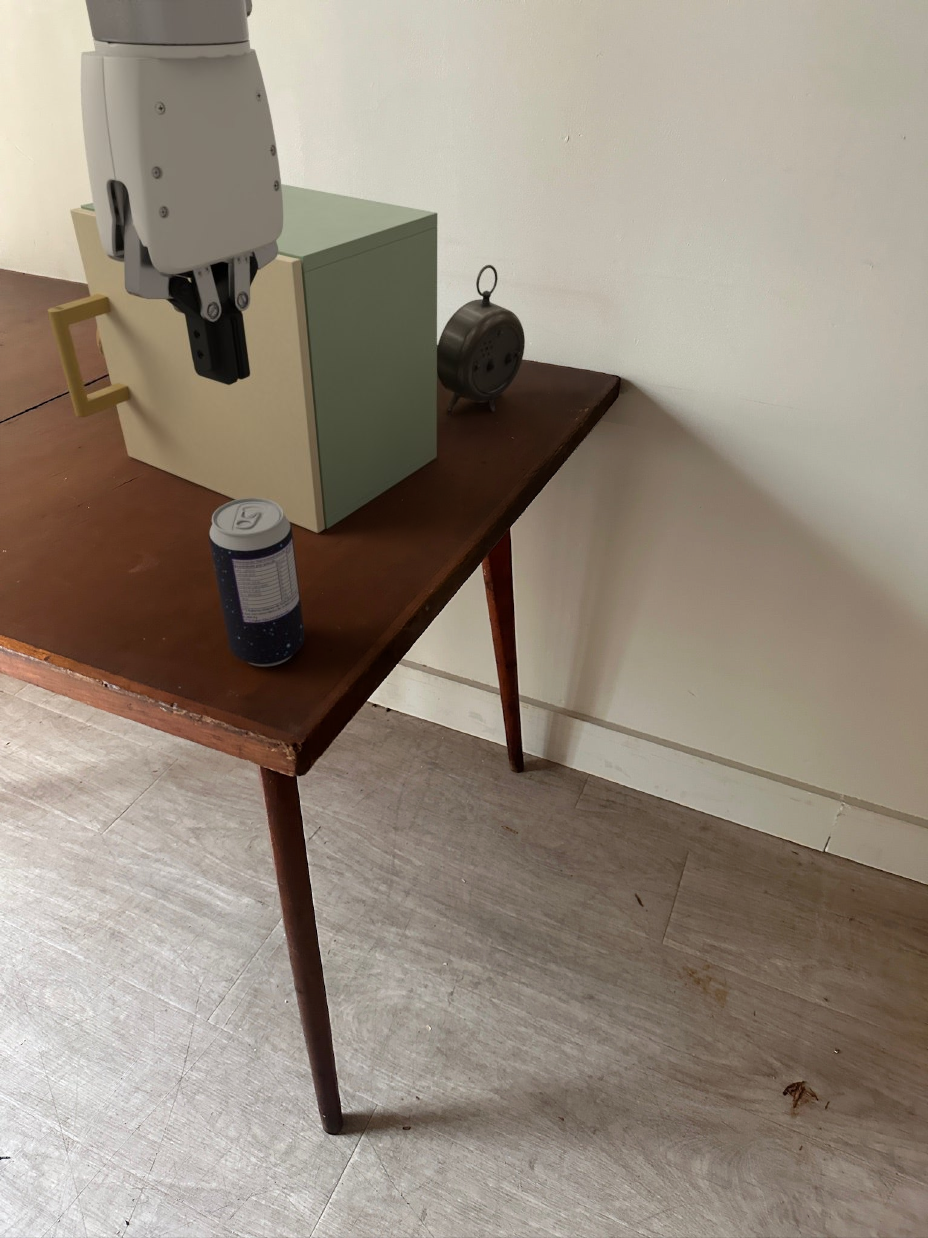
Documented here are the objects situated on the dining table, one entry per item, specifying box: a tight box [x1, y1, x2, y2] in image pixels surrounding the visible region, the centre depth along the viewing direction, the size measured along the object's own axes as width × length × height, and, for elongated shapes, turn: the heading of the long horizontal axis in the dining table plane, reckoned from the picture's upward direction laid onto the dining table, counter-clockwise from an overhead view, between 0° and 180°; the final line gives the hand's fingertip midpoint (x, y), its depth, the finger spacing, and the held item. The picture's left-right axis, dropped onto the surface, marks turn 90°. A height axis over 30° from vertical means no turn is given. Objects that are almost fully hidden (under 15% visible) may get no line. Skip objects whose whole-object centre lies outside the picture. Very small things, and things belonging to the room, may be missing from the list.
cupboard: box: [80, 183, 438, 530], centre depth 85 cm, size 18×26×24 cm
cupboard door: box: [47, 207, 326, 534], centre depth 77 cm, size 7×26×24 cm, turn 56°
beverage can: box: [208, 498, 305, 668], centre depth 63 cm, size 6×6×12 cm
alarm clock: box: [437, 264, 526, 414], centre depth 99 cm, size 11×5×16 cm, turn 134°
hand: (223, 375), depth 54 cm, fingers closed
